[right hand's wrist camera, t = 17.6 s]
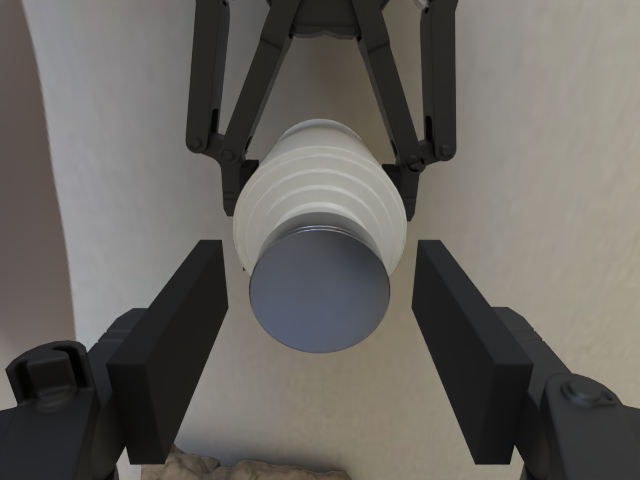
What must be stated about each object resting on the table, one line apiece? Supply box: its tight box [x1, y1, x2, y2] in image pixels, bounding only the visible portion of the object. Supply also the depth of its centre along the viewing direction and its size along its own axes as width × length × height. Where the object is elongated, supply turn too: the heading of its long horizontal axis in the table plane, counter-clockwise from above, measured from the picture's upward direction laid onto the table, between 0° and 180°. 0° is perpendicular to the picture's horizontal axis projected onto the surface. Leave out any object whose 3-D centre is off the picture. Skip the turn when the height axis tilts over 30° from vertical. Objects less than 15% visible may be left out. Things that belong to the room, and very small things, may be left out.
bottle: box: [233, 119, 407, 277], centre depth 22 cm, size 8×8×18 cm
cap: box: [249, 212, 390, 353], centre depth 14 cm, size 4×5×2 cm
